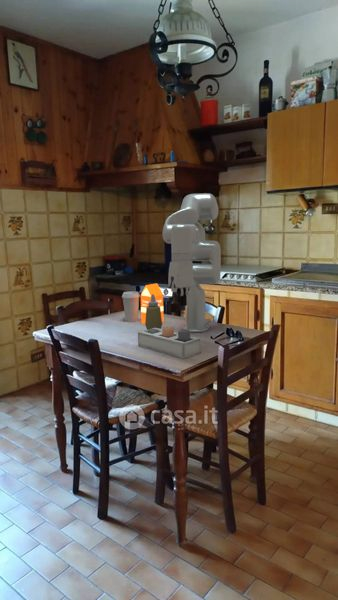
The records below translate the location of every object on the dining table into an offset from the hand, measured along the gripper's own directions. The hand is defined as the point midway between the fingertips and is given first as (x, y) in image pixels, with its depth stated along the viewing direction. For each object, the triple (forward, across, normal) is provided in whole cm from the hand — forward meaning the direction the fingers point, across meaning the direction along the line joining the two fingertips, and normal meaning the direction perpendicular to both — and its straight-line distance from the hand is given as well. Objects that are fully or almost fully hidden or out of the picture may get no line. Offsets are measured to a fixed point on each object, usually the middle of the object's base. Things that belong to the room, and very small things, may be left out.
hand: (182, 305), depth 164 cm
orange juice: (+19, -27, -48) cm, 58 cm away
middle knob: (+15, 0, -8) cm, 18 cm away
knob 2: (+15, 0, +1) cm, 15 cm away
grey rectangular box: (+19, 0, -8) cm, 21 cm away
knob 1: (+18, 0, -17) cm, 25 cm away
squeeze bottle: (+19, -15, -34) cm, 42 cm away
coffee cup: (+19, -22, -60) cm, 67 cm away
